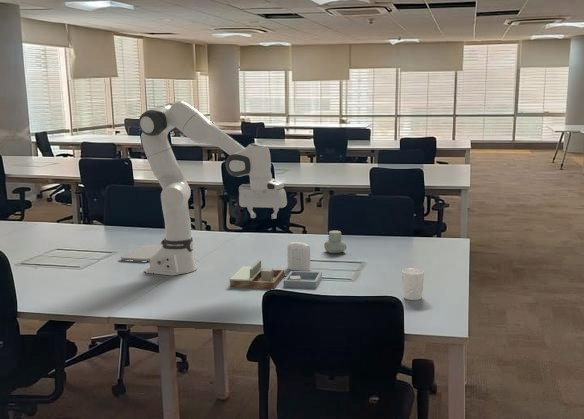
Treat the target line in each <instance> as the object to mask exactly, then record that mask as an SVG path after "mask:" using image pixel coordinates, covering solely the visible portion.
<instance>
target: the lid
mask: <svg viewBox="0 0 584 419" xmlns="http://www.w3.org/2000/svg"><path fill="white" fill-rule="evenodd" d="M263 268H265V267H264V266H262V260H260V259H259V260H257V261H256V263H254V264H253V266H250V265H249V266H247V265H246V266H241V267H240V268H239V269H238V271H236V272H235V273H234V274H233V275H232V276H231V277H230V278H229V279H228V280H229V281H230V280H231V281H252V280H253V279H254V278H255V277H256V276H257V275H258V274H259V273H260V272H261V270H262V269H263Z"/></svg>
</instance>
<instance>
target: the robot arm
mask: <svg viewBox="0 0 584 419" xmlns="http://www.w3.org/2000/svg"><path fill="white" fill-rule="evenodd" d="M138 126H139V129H140V131H141V132H142V133H141V134H140V135H141V136H140V139H141V144H142V147H143V151H144V153H145V157H146V158H147V161H148V164H149V166H150V169H151V171H152V173H153V176H154V177H155V178H156V180H157V181H158V183H159V185H160V186H161V188H162V191H161V193H160V202H161V207H162V208H161V209H162V214H163V219H164V230H165V232H164V234H165V237H164V239H162V240H161V241H160V245H162V248H161V249H160V250H158V251H157V252H156V253H155V254H154V255H153V256H152V257H151V259H150V262H149V265H148V266H146V267H145V268H144V273H145V272H146V274H153V273H154V275H164V276H177V275H182V274H188V273H192V272H194V271H196V270H197V269H198V267H197V264H196V261H195V257H194V251H193V250H194V241H193V237H192V226H191V225H192V224H191V221H192V220H191V217H190V210H189V199H190V198H191V194H192V193H191V192H192V191H191V190H192V189H191V188H190V185H189V184H188V181H187V179H186V177H185V175H184V173H183V171H182V169H181V168H180V165H179V163H178V161H177V159H176V156H175V154H174V152H173V149H172V146H171V144H170V141H169V137H168V135H169V133H173V132H174V131H175V130H176V129H177V130H179V132H181V133H182V134H183V135H184V136H185V137H186V138H188V139H189V140H191V141H193V142H195V143H196V144H197V143H198V144H204V145H212V146H214V147H215V146H216V147H217V148H219V149H221V150H222V151H224V152H225V153H226V154H227V155H228V157H227V158H226V160H225V169H226V171H227V172H228V174H229V175H230V176H232V177H238V178H239V177H243V176H249V183H242V184H241V185H239V187H238V193H239V194H238V204H239V206H240V207H242V208H247V211H248V212H249V214H250V219H255V218H256V217H257V214H256V212H254V210H253V209H254V208H264V209H265V208H268V209H269V208H270V209H273V213H272V214H270V215H271V220H273V219H274V220H275V219H277V217H278V215H277V214H278V212H279V211H280V209H283V208H285V207H286V206H287V204H288V199H287V192H286V190H285V189H284V187H285V183H284V182H283V181H280V180H278V179H275V178H273V175H272V172H271V168H272V160H271V152H270V149H269V147H268V145H267V144H264V143H261V142H260V143H259V142H252V143H250V144H248V145H247V146H246V147H245V146H243V145H242V144H241V143H239V142H238V141H237V140H235V139H234V138H233V137H232V136H230V135H229V134H227V133H226V132H225V131H224V130H222V129H221V128H220V127H218V126H217V125H216V124H214V123H213V122H212V120H210V119H209V118H208V117H206V116H205V114H203V113H202V112H201V111H199V110H198V109H197V108H196V107H194V106H193V105H191V104H189V103H188V102H185V101H183V100H178V101H176V102H174V103H166V104H162V105H158V106H155V107H153V108H151V109H148V110H146V111H144V112H143V113H141V114H140V116H139V118H138Z"/></svg>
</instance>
